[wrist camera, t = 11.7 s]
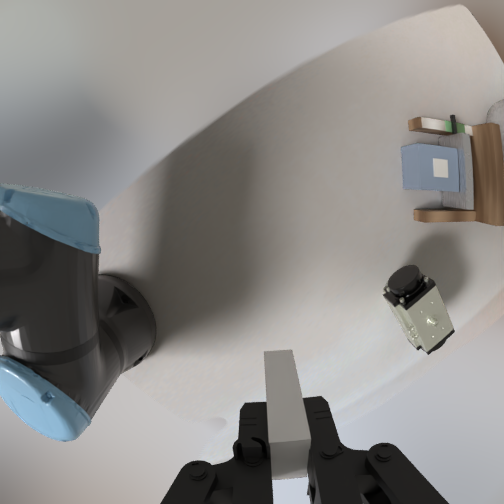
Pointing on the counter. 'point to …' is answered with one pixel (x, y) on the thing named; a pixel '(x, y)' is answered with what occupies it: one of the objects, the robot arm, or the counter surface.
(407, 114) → the counter surface
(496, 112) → the planter
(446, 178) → the blue block
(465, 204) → the grey flat panel
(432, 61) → the counter surface
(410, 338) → the pneumatic valve
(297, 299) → the counter surface
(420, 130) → the gauge frame
